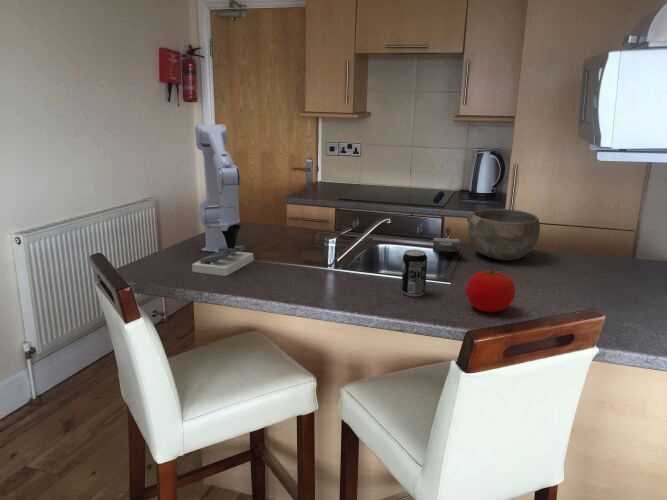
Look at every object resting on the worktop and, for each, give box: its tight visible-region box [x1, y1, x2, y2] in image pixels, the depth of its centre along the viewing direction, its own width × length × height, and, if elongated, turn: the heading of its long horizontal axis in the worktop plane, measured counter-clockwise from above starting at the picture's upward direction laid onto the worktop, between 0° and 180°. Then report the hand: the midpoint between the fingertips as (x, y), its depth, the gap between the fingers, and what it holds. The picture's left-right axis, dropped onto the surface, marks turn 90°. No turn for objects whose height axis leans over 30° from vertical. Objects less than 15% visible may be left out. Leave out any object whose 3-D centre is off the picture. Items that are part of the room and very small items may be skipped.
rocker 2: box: [208, 248, 236, 256], centre depth 177 cm, size 4×8×1 cm, turn 71°
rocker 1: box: [199, 252, 228, 263], centre depth 172 cm, size 4×8×1 cm, turn 71°
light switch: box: [432, 237, 460, 253], centre depth 191 cm, size 8×6×14 cm
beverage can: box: [401, 249, 428, 298], centre depth 153 cm, size 7×7×12 cm
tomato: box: [465, 270, 516, 313], centre depth 142 cm, size 11×12×10 cm
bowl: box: [466, 208, 541, 262], centre depth 190 cm, size 24×24×15 cm
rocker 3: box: [218, 245, 246, 252], centre depth 182 cm, size 4×8×1 cm, turn 71°
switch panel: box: [191, 251, 254, 277], centre depth 178 cm, size 18×12×3 cm, turn 161°
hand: (231, 247), depth 176 cm, fingers closed
